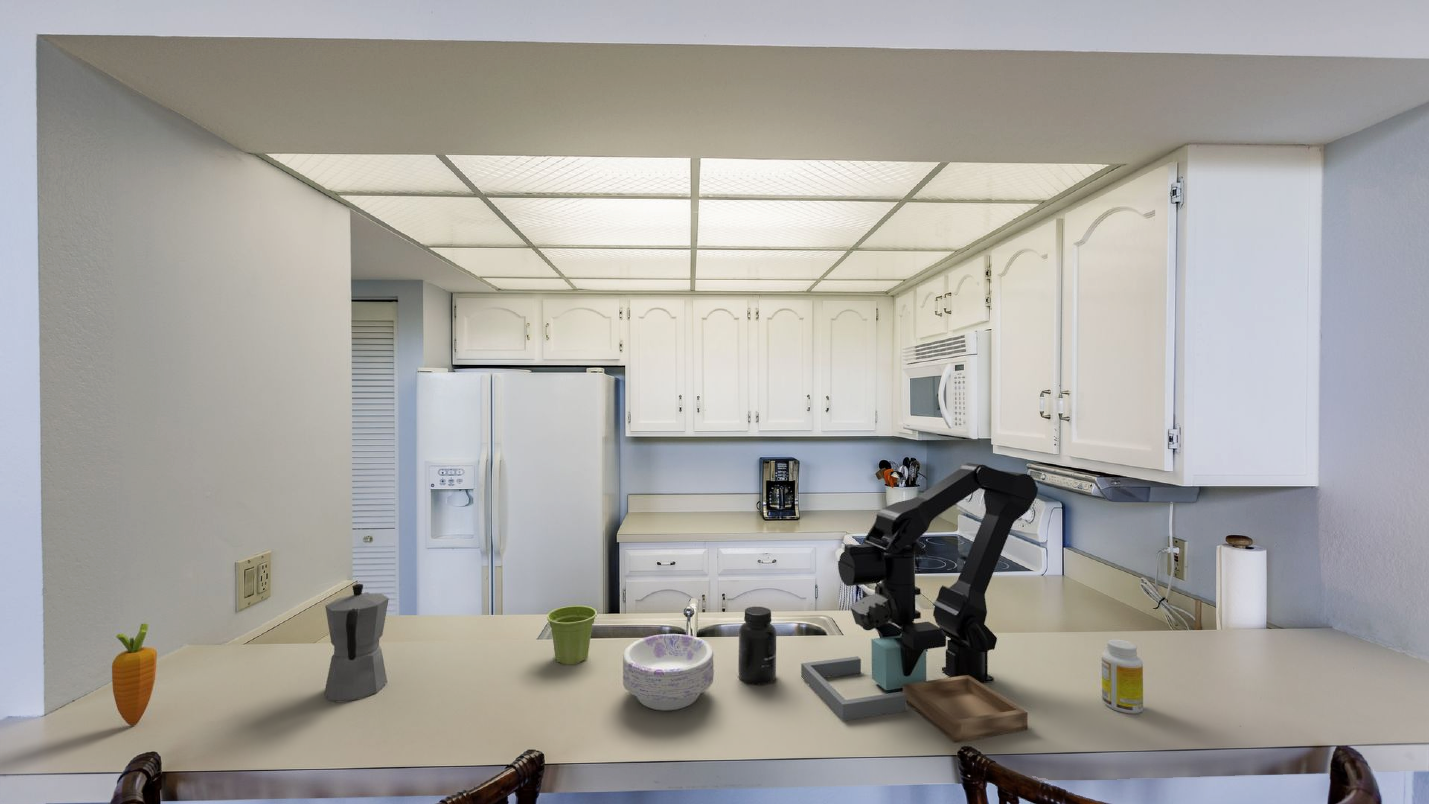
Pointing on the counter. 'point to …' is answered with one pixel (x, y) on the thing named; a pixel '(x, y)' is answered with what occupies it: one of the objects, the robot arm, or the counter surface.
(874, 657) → the tall aqua prism
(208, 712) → the counter surface
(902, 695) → the bay
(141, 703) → the carrot
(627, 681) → the paper bowls
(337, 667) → the coffeepot
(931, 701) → the tray
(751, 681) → the supplement bottle
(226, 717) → the counter surface
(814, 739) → the counter surface
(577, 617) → the plant pot
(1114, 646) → the supplement bottle
